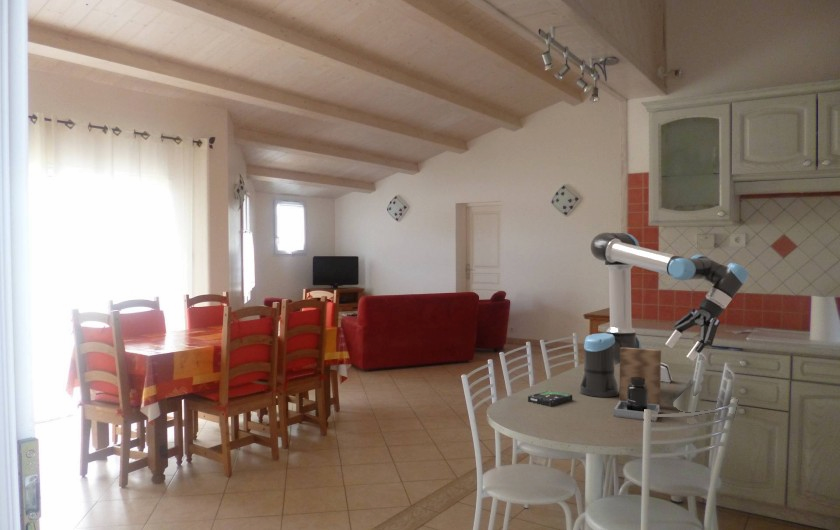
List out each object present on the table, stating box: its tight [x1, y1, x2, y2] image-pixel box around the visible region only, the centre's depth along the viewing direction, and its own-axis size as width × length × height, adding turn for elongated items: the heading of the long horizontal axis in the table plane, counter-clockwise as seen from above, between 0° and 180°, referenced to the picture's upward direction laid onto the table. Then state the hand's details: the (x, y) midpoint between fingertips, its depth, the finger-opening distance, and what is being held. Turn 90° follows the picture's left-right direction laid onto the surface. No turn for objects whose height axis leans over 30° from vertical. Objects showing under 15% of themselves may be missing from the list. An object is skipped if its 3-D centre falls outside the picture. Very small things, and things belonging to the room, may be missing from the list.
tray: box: [613, 401, 660, 422], centre depth 212 cm, size 14×14×2 cm
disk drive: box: [527, 390, 573, 407], centre depth 230 cm, size 10×3×15 cm
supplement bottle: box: [627, 377, 648, 412], centre depth 212 cm, size 7×7×12 cm
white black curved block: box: [661, 362, 673, 383], centre depth 271 cm, size 17×5×10 cm, turn 49°
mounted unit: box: [618, 347, 662, 410], centre depth 225 cm, size 14×6×21 cm, turn 64°
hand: (678, 352), depth 215 cm, fingers open, 13 cm apart
